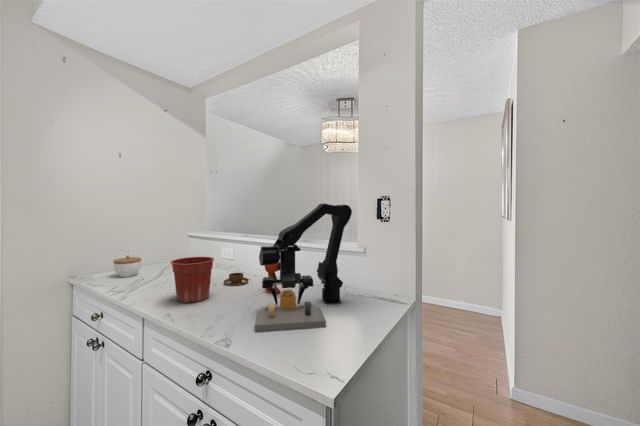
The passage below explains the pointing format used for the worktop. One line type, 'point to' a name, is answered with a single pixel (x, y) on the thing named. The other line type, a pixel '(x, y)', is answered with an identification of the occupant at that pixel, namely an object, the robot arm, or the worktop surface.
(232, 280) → the brown cup and saucer
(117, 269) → the lidded bowl
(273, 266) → the toy drill
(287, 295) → the orange knobbed cube
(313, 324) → the grey peg board
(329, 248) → the robot arm
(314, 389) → the worktop surface
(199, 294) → the flower pot
